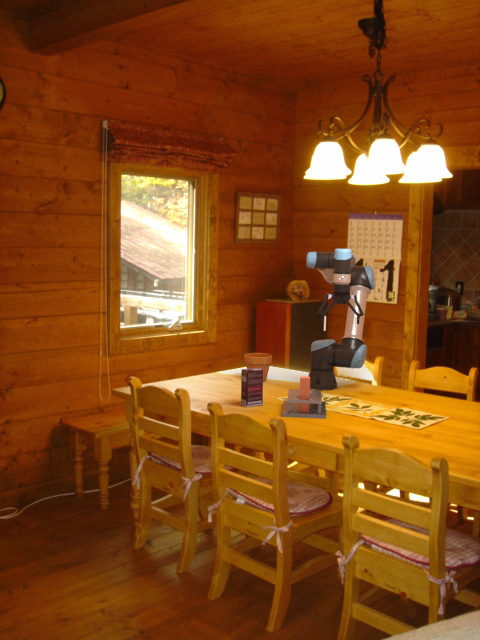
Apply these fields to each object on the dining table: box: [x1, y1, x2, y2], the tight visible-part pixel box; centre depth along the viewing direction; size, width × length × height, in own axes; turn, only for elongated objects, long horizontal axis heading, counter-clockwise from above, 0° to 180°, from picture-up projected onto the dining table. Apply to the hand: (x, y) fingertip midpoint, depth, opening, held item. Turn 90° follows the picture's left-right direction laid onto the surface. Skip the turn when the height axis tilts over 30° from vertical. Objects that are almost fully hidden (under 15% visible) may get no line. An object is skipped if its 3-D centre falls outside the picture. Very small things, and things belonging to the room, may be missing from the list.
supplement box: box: [240, 368, 264, 408], centre depth 315 cm, size 9×5×16 cm, turn 121°
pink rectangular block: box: [299, 375, 311, 412], centre depth 301 cm, size 4×4×14 cm
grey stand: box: [281, 388, 327, 419], centre depth 308 cm, size 18×24×13 cm
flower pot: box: [243, 352, 273, 382], centre depth 372 cm, size 14×14×13 cm
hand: (340, 331), depth 325 cm, fingers open, 13 cm apart
